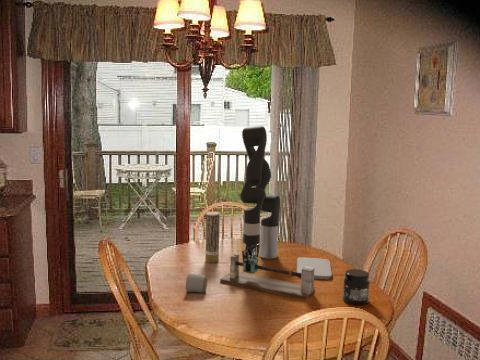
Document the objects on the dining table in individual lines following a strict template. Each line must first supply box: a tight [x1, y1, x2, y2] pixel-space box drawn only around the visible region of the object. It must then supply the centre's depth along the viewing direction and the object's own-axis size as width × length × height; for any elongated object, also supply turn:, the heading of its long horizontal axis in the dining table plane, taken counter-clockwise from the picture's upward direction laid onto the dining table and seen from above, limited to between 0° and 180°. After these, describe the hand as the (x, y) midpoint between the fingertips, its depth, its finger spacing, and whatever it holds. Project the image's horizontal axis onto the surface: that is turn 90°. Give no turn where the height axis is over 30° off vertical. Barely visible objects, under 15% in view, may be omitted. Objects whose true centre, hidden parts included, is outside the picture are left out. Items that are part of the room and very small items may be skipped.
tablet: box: [296, 256, 333, 280], centre depth 225 cm, size 16×26×2 cm, turn 172°
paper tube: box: [204, 211, 221, 264], centre depth 232 cm, size 7×7×25 cm
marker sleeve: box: [242, 258, 259, 275], centre depth 204 cm, size 5×5×6 cm
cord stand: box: [219, 253, 316, 301], centre depth 201 cm, size 12×40×12 cm, turn 64°
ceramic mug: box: [185, 272, 208, 293], centre depth 195 cm, size 11×8×8 cm
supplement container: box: [342, 268, 371, 306], centre depth 188 cm, size 10×10×12 cm
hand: (250, 269), depth 204 cm, fingers closed on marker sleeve, 4 cm apart
